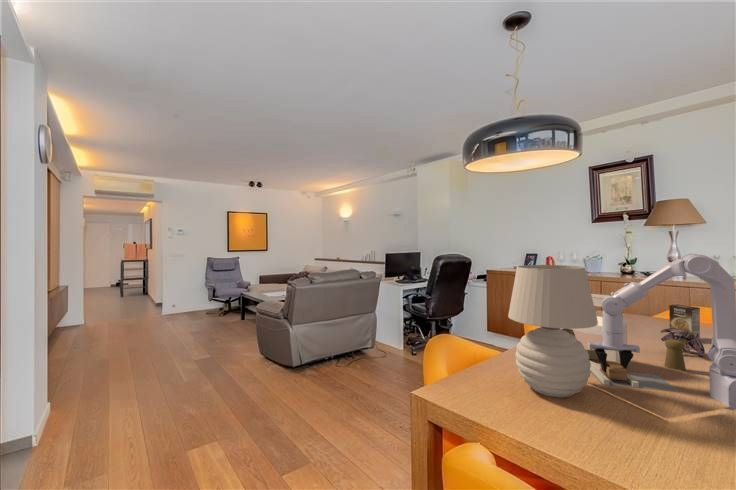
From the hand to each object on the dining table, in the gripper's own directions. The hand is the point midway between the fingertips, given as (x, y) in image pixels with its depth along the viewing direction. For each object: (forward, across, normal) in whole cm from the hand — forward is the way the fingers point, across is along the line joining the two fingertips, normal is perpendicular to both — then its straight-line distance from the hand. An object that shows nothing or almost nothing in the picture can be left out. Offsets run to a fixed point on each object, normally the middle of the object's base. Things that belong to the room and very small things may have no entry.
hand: (613, 371), depth 113 cm
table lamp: (+4, +22, +12) cm, 25 cm away
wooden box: (+1, 0, 0) cm, 1 cm away
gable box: (+4, +2, -17) cm, 18 cm away
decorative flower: (+4, -38, -38) cm, 55 cm away
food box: (+4, -52, -64) cm, 82 cm away
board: (+3, -5, 0) cm, 6 cm away
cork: (+4, -26, -18) cm, 31 cm away
